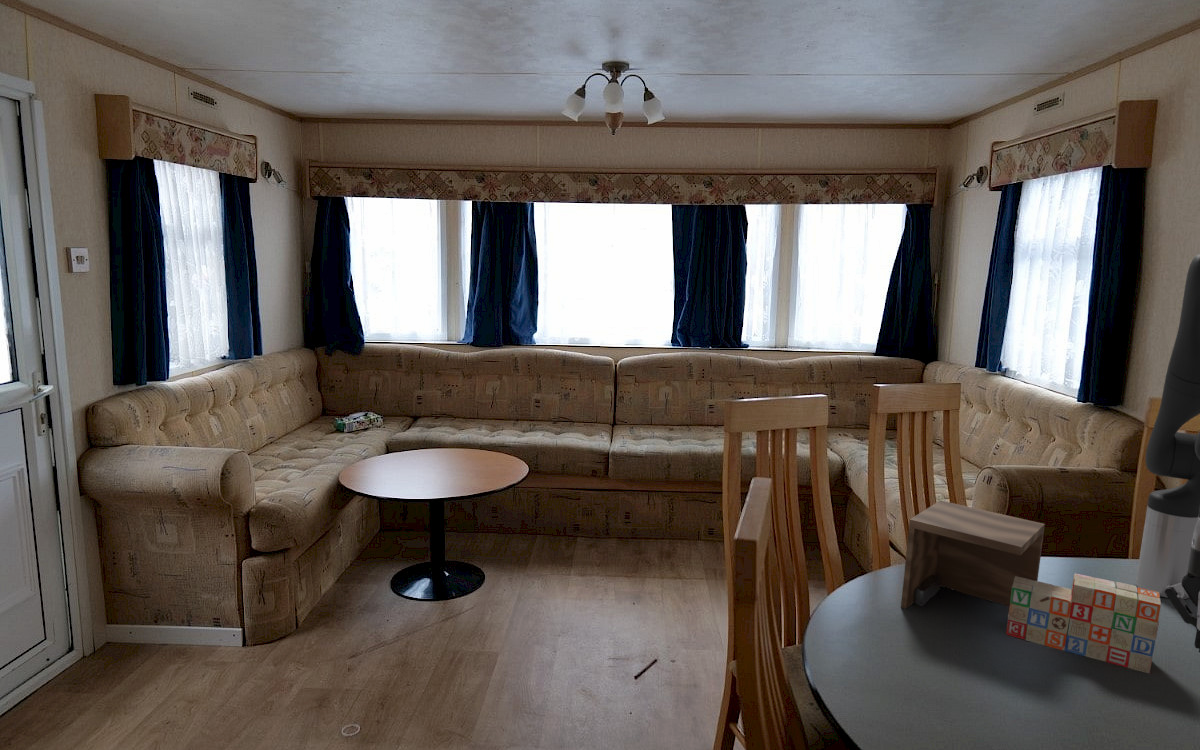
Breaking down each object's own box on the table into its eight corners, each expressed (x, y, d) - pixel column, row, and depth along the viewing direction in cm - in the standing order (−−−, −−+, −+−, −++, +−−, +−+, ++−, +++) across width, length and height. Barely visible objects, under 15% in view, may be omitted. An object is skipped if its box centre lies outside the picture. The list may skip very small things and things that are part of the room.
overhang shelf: (931, 581, 160) (940, 500, 157) (1033, 611, 148) (1044, 524, 145) (900, 607, 147) (909, 519, 145) (1009, 642, 135) (1021, 547, 132)
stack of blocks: (1004, 635, 138) (1012, 570, 136) (1008, 622, 143) (1016, 559, 141) (1150, 674, 126) (1161, 603, 124) (1149, 659, 131) (1159, 590, 130)
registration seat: (931, 588, 157) (933, 574, 156) (939, 590, 156) (941, 576, 155) (914, 603, 149) (915, 589, 149) (922, 606, 148) (923, 591, 148)
